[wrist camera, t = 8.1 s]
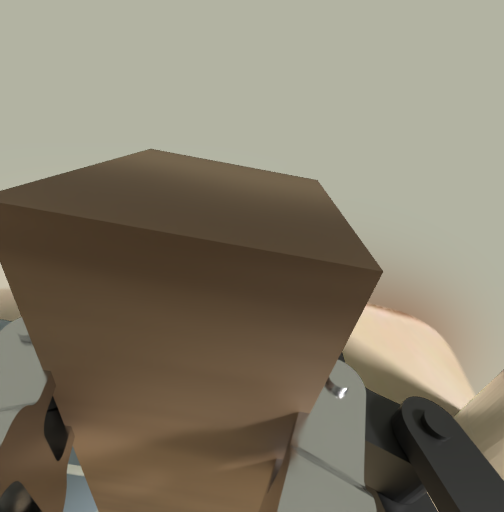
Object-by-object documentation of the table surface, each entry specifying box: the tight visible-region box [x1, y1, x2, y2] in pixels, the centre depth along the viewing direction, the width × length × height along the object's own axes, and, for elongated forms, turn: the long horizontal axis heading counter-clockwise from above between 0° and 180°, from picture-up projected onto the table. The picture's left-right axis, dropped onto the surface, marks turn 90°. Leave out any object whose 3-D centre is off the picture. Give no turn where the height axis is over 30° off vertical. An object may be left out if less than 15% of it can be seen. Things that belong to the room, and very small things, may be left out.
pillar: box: [0, 149, 383, 512], centre depth 8 cm, size 5×5×11 cm
